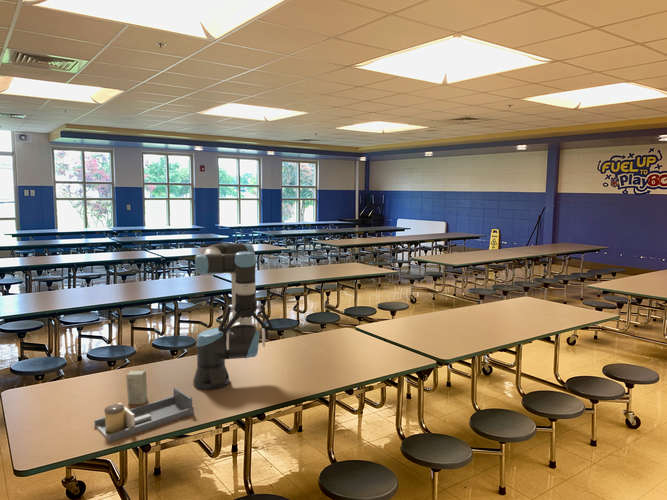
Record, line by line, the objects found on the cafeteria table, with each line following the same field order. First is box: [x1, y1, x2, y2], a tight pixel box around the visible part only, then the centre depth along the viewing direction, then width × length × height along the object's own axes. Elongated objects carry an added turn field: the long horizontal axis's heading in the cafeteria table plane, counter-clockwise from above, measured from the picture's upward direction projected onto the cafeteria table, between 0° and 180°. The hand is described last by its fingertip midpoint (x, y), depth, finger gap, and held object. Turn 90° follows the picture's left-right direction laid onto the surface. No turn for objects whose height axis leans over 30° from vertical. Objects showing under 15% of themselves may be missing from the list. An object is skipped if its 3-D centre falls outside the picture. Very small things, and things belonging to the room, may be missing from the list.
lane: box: [93, 387, 195, 443], centre depth 171 cm, size 15×30×6 cm, turn 135°
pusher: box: [117, 402, 151, 428], centre depth 169 cm, size 12×9×6 cm
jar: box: [104, 403, 125, 434], centre depth 163 cm, size 6×6×8 cm
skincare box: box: [125, 370, 148, 405], centre depth 185 cm, size 6×4×12 cm
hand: (245, 347), depth 180 cm, fingers open, 13 cm apart
